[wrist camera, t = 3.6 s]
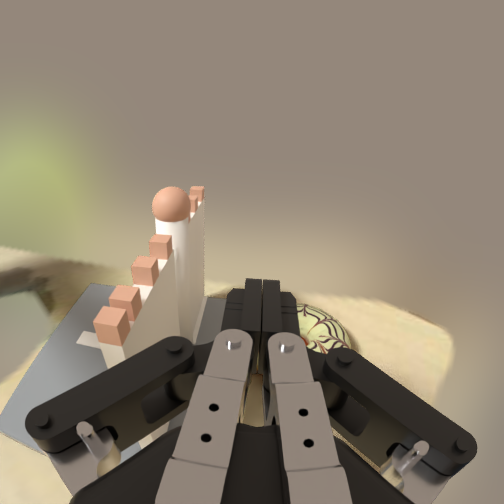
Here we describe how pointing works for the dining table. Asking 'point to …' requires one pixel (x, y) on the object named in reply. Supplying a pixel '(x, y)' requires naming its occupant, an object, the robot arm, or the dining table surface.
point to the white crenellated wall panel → (141, 311)
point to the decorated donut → (320, 330)
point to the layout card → (83, 361)
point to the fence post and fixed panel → (184, 248)
